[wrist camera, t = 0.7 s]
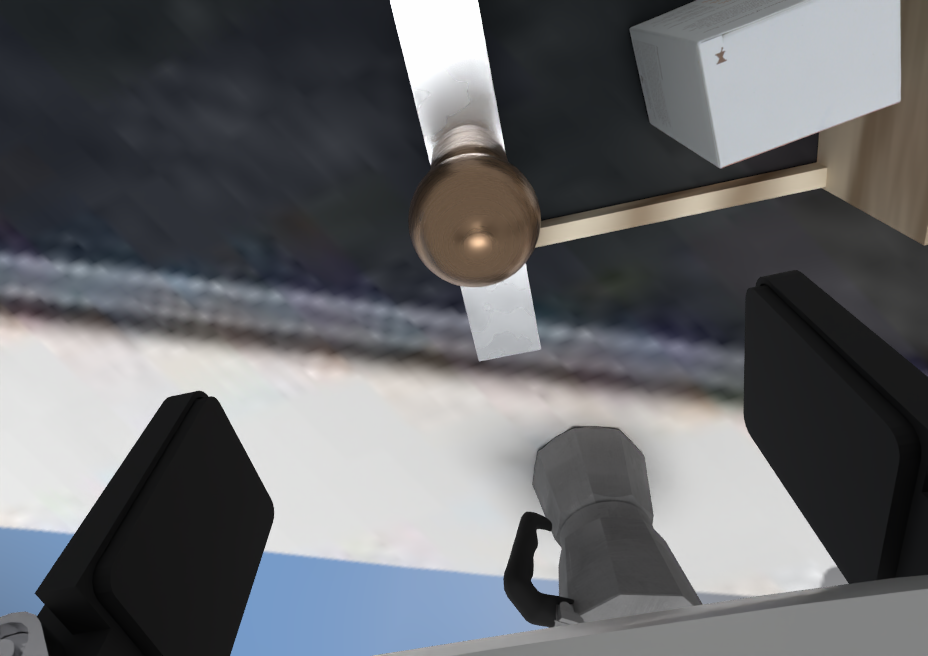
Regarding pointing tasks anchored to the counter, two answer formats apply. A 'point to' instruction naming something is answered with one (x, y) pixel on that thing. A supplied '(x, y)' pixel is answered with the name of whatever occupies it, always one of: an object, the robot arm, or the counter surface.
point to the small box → (766, 70)
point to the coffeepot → (595, 535)
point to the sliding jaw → (468, 177)
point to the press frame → (817, 164)
